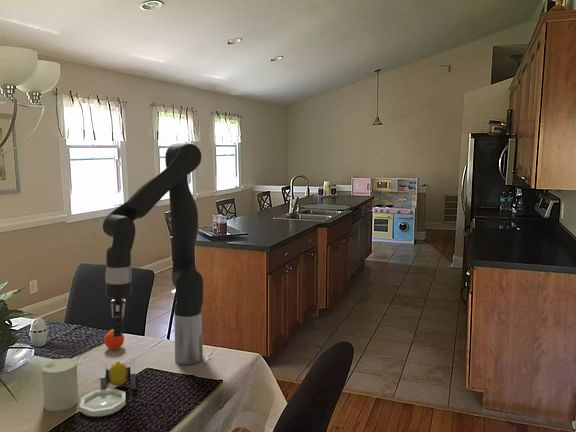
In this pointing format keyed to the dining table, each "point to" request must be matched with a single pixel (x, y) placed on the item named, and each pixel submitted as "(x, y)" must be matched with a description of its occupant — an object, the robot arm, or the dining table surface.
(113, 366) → the lemon
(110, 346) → the clementine
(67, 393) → the can
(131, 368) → the clip
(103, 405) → the dish
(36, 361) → the dining table surface
